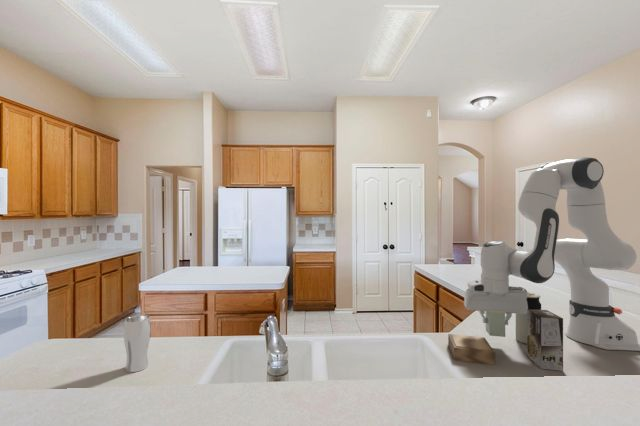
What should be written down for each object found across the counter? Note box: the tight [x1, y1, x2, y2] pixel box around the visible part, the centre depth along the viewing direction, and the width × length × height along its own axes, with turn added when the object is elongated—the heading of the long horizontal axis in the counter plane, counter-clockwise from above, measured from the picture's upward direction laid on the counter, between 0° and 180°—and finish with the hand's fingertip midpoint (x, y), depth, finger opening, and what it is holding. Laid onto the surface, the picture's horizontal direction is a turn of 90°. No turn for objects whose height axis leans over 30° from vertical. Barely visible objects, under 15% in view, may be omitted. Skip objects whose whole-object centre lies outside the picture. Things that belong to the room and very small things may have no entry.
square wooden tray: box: [447, 333, 496, 366], centre depth 101 cm, size 12×12×4 cm
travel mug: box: [515, 291, 542, 345], centre depth 112 cm, size 8×8×18 cm
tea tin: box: [485, 310, 506, 338], centre depth 108 cm, size 5×5×9 cm
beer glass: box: [123, 314, 152, 373], centre depth 90 cm, size 7×7×15 cm
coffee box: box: [527, 309, 564, 372], centre depth 95 cm, size 9×6×16 cm
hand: (495, 323), depth 108 cm, fingers closed on tea tin, 5 cm apart
